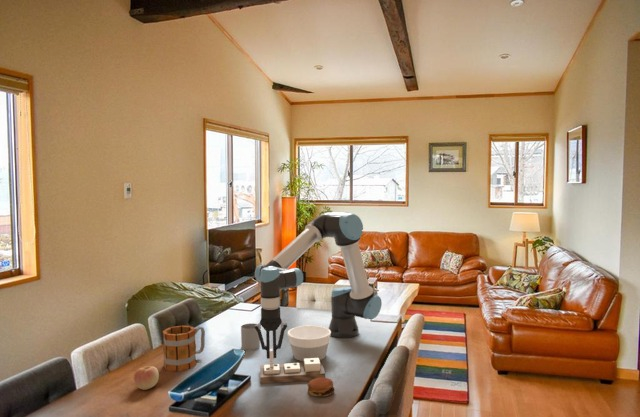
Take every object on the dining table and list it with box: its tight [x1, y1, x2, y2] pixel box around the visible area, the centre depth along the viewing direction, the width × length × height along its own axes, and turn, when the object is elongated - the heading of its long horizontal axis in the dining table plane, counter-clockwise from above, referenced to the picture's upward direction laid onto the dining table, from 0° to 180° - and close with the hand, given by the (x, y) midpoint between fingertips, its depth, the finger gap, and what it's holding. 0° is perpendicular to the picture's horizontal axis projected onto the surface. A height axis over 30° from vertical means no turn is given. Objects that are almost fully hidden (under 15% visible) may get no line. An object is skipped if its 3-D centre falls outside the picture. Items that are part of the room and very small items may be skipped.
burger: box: [307, 377, 335, 398], centre depth 176 cm, size 10×9×5 cm
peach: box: [133, 365, 160, 391], centre depth 182 cm, size 9×9×8 cm
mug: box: [162, 325, 206, 372], centre depth 206 cm, size 20×14×15 cm
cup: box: [240, 323, 261, 351], centre depth 224 cm, size 8×8×10 cm
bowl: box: [286, 324, 331, 362], centre depth 212 cm, size 19×19×11 cm
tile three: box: [263, 363, 280, 374], centre depth 191 cm, size 6×6×4 cm
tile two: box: [283, 362, 300, 373], centre depth 192 cm, size 6×6×4 cm
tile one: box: [303, 358, 321, 372], centre depth 192 cm, size 6×6×4 cm
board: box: [259, 361, 326, 385], centre depth 192 cm, size 25×12×2 cm, turn 97°
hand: (271, 366), depth 190 cm, fingers closed
